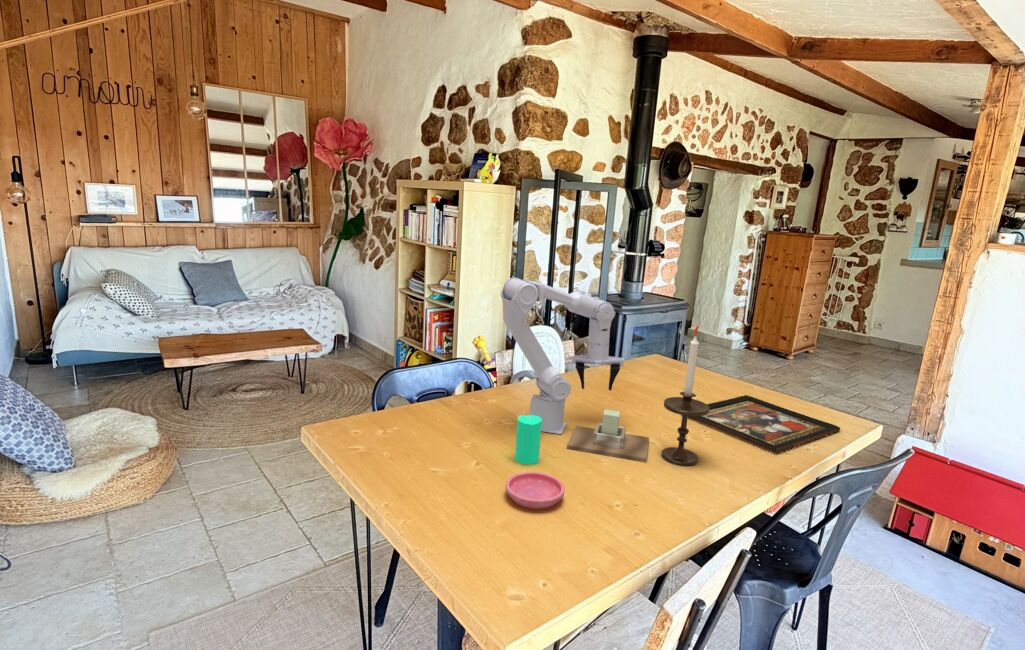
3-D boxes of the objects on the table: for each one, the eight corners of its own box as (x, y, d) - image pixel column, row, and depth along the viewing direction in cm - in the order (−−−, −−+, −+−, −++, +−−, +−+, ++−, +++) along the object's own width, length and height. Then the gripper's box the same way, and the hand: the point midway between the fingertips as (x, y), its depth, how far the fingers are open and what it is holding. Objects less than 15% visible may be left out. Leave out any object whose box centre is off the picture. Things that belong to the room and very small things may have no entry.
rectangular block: (600, 443, 146) (603, 414, 144) (602, 437, 149) (605, 409, 148) (615, 445, 145) (618, 416, 143) (617, 440, 148) (620, 411, 147)
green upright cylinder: (542, 456, 138) (545, 411, 135) (535, 467, 132) (538, 419, 130) (519, 452, 140) (521, 406, 137) (511, 462, 134) (514, 414, 132)
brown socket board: (566, 448, 143) (567, 434, 143) (575, 428, 157) (576, 415, 156) (646, 462, 138) (648, 447, 137) (648, 440, 152) (650, 427, 151)
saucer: (572, 510, 115) (573, 496, 114) (514, 517, 111) (515, 502, 110) (551, 481, 126) (552, 468, 125) (498, 486, 122) (498, 473, 122)
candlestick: (701, 471, 135) (721, 330, 128) (655, 462, 139) (672, 324, 131) (702, 454, 145) (721, 322, 138) (659, 445, 149) (675, 317, 141)
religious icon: (791, 462, 144) (793, 451, 144) (673, 420, 170) (674, 411, 169) (844, 431, 169) (845, 422, 169) (734, 398, 195) (735, 390, 194)
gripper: (572, 344, 154) (570, 391, 157) (626, 347, 152) (623, 394, 155) (573, 338, 161) (571, 383, 164) (624, 341, 159) (621, 386, 162)
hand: (596, 388), depth 160 cm, fingers open, 7 cm apart
